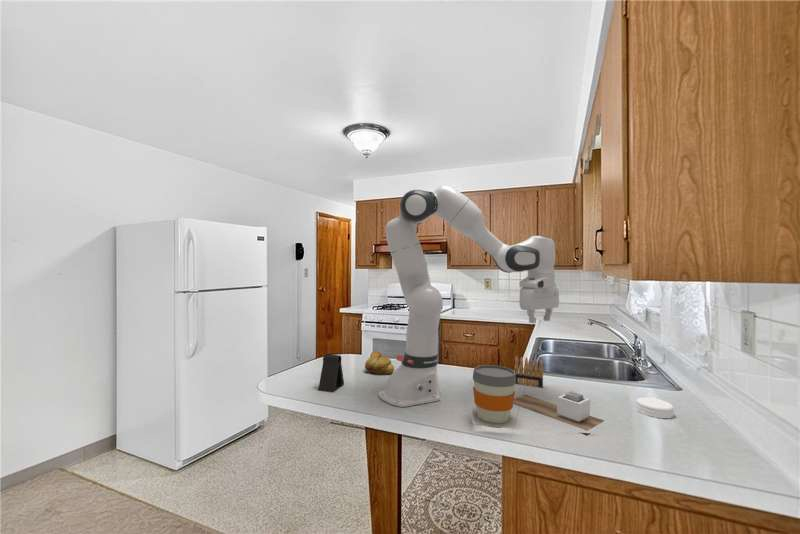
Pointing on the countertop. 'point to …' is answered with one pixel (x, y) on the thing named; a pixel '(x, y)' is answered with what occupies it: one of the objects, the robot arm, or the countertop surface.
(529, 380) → the ammunition clip
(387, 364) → the bread roll
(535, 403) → the brown flat wooden board
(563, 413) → the white block
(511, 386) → the reusable coffee cup
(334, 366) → the black tent stand
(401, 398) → the robot arm
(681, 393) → the countertop surface
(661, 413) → the coaster
